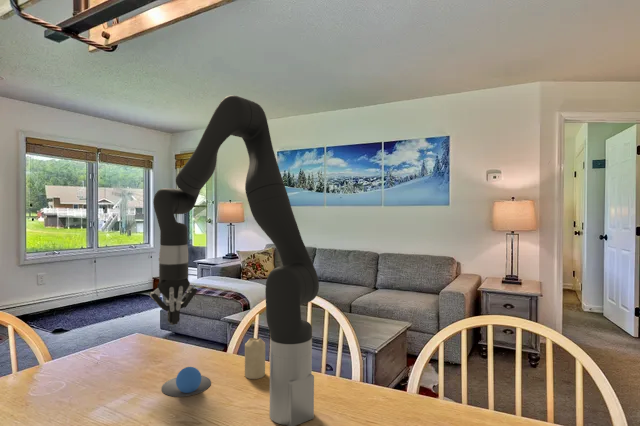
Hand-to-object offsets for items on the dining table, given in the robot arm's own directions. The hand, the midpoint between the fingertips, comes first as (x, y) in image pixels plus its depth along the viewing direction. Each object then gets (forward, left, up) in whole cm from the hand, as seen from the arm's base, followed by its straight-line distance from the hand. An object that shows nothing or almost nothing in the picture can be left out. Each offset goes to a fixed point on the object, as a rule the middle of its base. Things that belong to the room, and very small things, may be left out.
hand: (173, 323), depth 109 cm
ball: (-14, +1, -10) cm, 17 cm away
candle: (-15, -17, -14) cm, 26 cm away
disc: (-10, 0, -14) cm, 17 cm away
